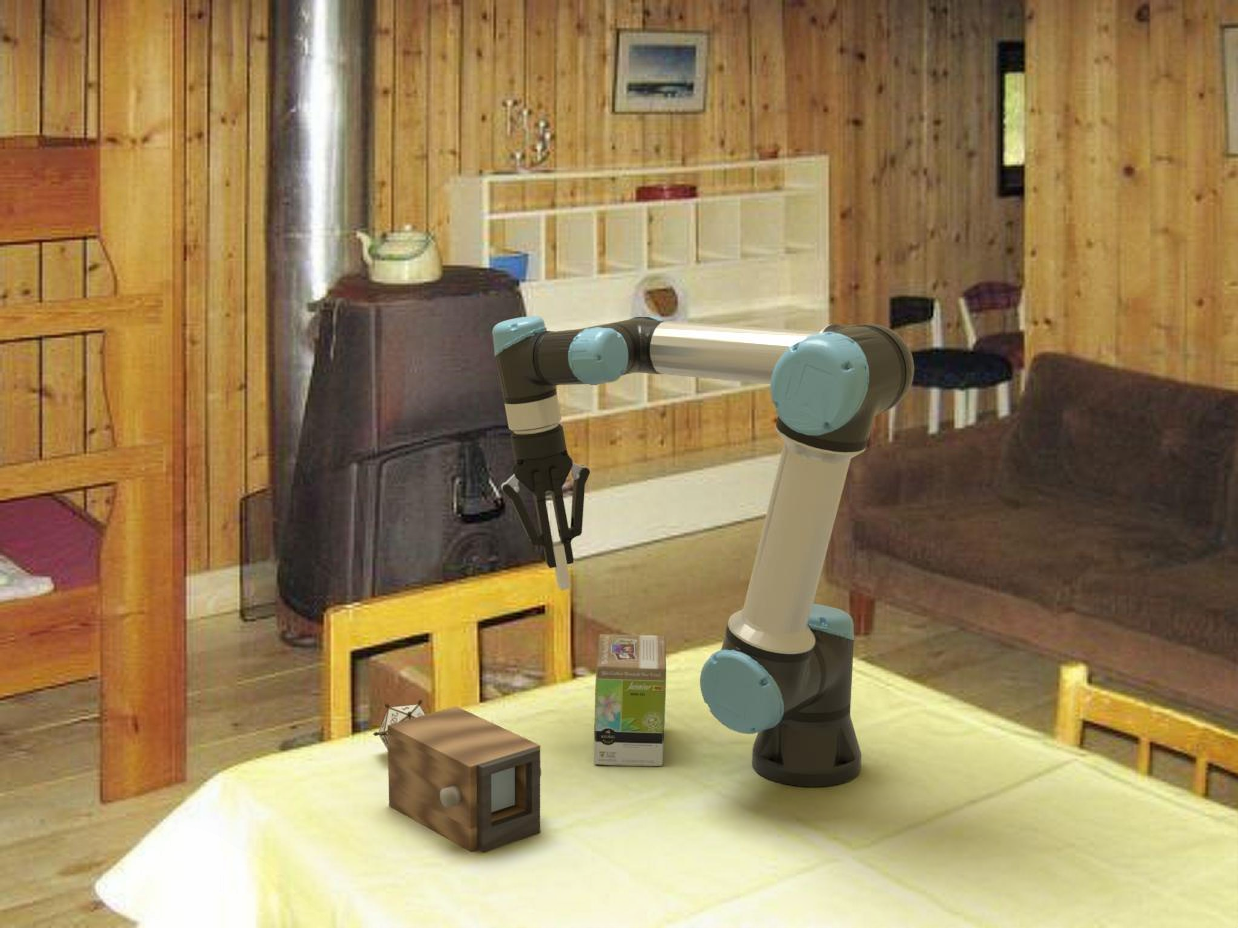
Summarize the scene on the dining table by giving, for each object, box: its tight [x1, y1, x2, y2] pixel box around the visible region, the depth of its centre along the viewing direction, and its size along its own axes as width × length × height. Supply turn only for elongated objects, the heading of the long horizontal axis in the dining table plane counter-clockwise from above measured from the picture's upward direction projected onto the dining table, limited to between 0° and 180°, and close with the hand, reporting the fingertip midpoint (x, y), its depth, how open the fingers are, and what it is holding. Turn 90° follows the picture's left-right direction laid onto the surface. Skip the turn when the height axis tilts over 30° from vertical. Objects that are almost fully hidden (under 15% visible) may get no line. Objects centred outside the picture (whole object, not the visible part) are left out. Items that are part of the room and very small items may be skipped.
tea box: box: [593, 633, 667, 767], centre depth 252 cm, size 15×10×15 cm
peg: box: [491, 767, 515, 812], centre depth 228 cm, size 15×5×6 cm, turn 42°
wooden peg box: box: [387, 705, 542, 853], centre depth 228 cm, size 19×14×11 cm
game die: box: [372, 698, 426, 751], centre depth 248 cm, size 9×8×10 cm
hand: (564, 586), depth 254 cm, fingers closed
